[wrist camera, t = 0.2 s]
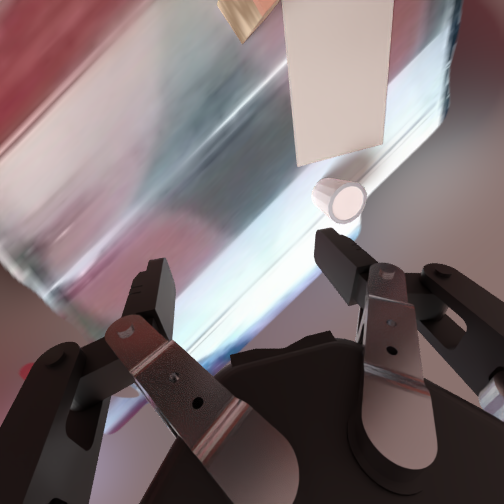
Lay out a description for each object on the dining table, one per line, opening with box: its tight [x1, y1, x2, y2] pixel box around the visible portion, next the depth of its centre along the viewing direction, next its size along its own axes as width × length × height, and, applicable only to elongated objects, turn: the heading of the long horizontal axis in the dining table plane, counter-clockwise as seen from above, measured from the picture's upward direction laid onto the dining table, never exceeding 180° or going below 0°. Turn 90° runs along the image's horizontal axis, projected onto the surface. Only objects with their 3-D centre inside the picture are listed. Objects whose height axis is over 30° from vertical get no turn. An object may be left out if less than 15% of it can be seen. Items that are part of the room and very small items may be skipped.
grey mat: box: [281, 0, 394, 167], centre depth 35 cm, size 22×16×1 cm
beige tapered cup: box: [311, 177, 367, 224], centre depth 40 cm, size 7×7×7 cm
